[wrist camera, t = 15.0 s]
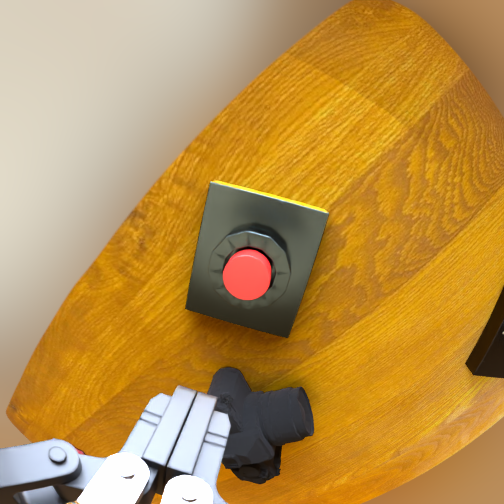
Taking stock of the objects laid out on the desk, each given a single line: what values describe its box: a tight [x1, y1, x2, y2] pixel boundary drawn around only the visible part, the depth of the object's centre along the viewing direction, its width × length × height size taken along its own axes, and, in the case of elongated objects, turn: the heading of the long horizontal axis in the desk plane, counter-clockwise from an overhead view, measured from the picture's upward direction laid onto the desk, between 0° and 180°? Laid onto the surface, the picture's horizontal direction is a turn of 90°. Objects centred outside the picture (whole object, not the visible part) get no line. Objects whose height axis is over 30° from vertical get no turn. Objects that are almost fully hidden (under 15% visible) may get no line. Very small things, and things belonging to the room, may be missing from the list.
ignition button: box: [223, 249, 272, 300], centre depth 24 cm, size 4×4×2 cm
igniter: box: [185, 181, 329, 338], centre depth 27 cm, size 12×10×4 cm
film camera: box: [207, 367, 314, 484], centre depth 29 cm, size 15×10×9 cm, turn 22°
